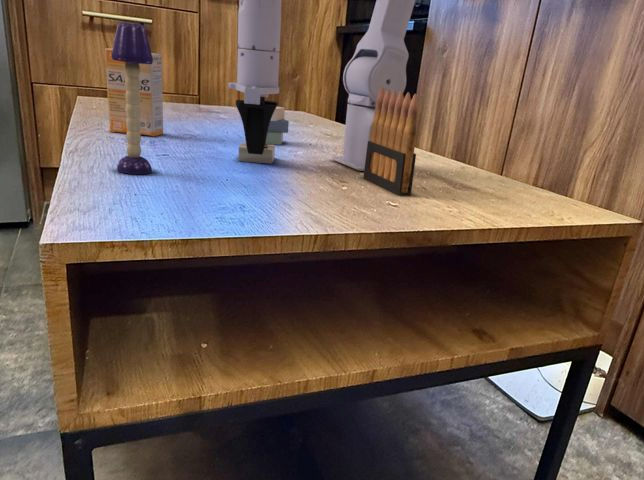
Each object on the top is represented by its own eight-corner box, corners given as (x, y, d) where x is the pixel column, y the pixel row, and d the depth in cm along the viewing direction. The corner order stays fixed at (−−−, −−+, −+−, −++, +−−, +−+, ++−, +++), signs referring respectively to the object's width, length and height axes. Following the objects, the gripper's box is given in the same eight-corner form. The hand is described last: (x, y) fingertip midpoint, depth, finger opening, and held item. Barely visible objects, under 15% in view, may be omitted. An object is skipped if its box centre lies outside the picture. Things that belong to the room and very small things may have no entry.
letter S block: (272, 163, 89) (272, 148, 88) (238, 161, 89) (238, 145, 88) (274, 158, 93) (275, 143, 92) (242, 155, 93) (242, 140, 92)
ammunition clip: (362, 177, 85) (373, 86, 80) (374, 177, 86) (385, 87, 80) (398, 195, 76) (412, 93, 71) (411, 195, 77) (426, 94, 72)
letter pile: (286, 146, 106) (288, 108, 103) (247, 142, 106) (248, 105, 103) (288, 141, 112) (290, 105, 110) (251, 137, 112) (252, 102, 109)
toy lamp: (149, 167, 79) (143, 24, 71) (162, 174, 76) (157, 25, 68) (113, 168, 76) (102, 20, 69) (124, 175, 73) (114, 21, 66)
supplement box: (108, 132, 104) (102, 47, 98) (121, 129, 108) (116, 48, 102) (153, 137, 103) (150, 52, 97) (164, 134, 107) (162, 52, 101)
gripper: (236, 47, 88) (234, 144, 94) (221, 47, 75) (220, 158, 81) (284, 52, 88) (279, 148, 94) (277, 52, 75) (272, 163, 81)
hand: (255, 153), depth 88 cm, fingers closed
